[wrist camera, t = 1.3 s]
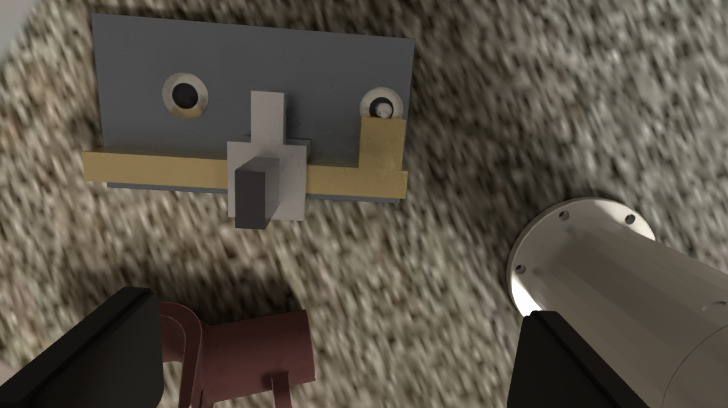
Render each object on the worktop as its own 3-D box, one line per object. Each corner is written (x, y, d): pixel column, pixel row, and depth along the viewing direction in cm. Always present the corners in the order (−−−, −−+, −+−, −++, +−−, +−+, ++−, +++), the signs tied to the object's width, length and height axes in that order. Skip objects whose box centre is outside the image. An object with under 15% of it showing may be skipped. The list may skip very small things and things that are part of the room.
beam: (408, 104, 30) (414, 105, 27) (400, 190, 31) (405, 198, 29) (97, 82, 28) (74, 81, 26) (106, 174, 30) (85, 180, 27)
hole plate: (412, 40, 29) (415, 38, 28) (397, 200, 32) (399, 203, 31) (99, 15, 28) (89, 12, 27) (114, 184, 31) (106, 187, 30)
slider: (312, 94, 29) (299, 94, 20) (308, 205, 31) (295, 246, 22) (241, 89, 28) (198, 87, 20) (242, 202, 30) (204, 242, 22)
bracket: (75, 307, 31) (23, 445, 23) (300, 273, 35) (319, 381, 27) (102, 354, 34) (65, 487, 27) (303, 318, 38) (321, 424, 31)
